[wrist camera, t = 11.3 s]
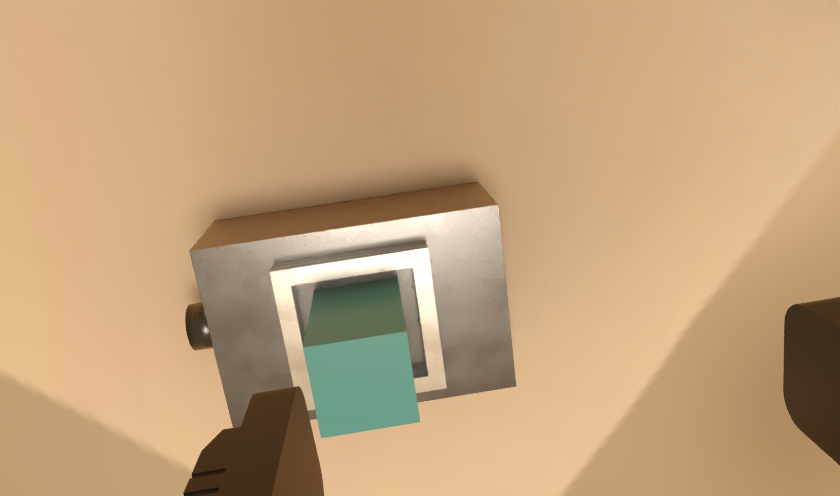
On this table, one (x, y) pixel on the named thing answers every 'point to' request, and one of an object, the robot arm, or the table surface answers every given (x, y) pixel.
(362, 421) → the block
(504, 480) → the table surface
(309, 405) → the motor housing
